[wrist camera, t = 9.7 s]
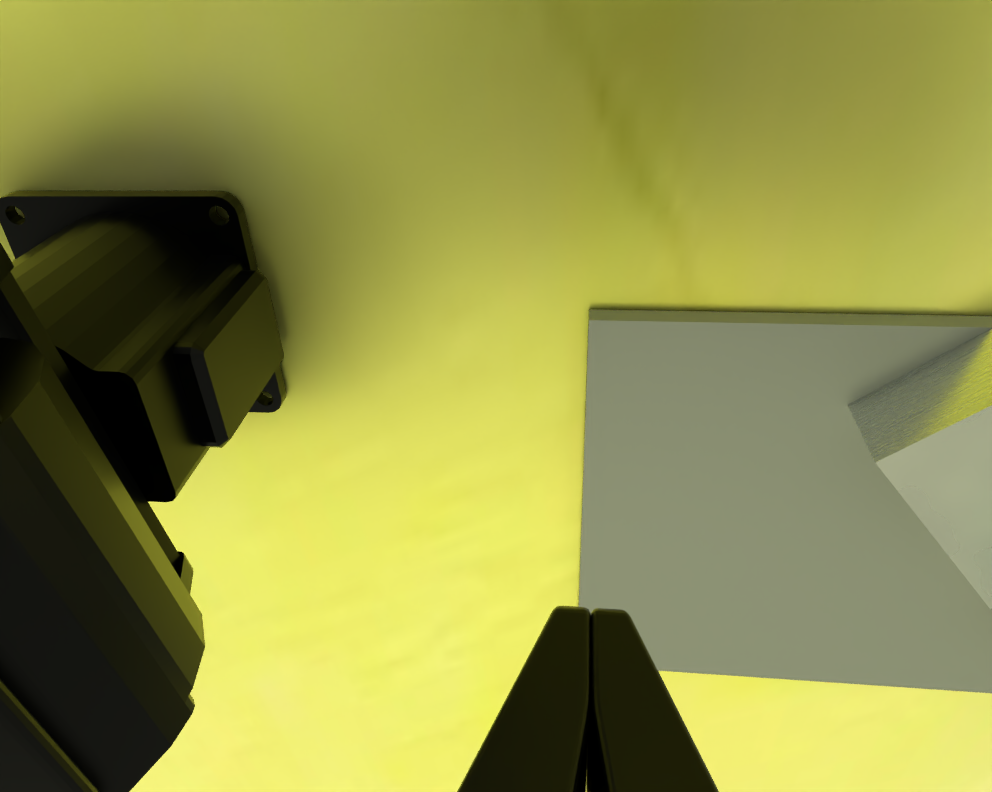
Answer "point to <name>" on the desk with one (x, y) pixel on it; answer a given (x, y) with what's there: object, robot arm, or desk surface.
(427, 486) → the desk surface
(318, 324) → the desk surface
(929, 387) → the block
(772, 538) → the base plate
